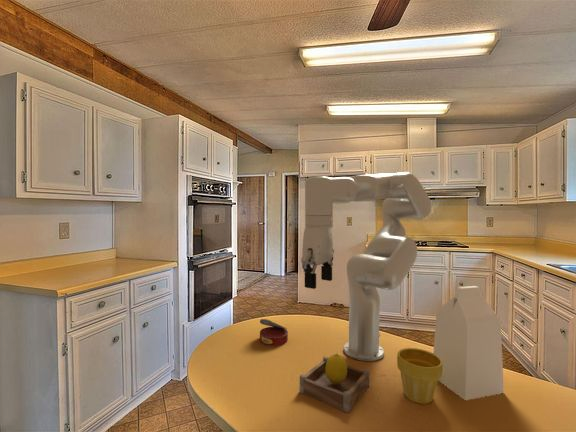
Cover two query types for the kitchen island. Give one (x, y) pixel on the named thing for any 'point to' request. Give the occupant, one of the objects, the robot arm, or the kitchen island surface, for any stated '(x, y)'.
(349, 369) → the wooden square tray
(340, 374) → the lemon
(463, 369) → the milk
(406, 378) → the plant pot
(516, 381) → the kitchen island surface
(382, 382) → the kitchen island surface
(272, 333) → the canned food
